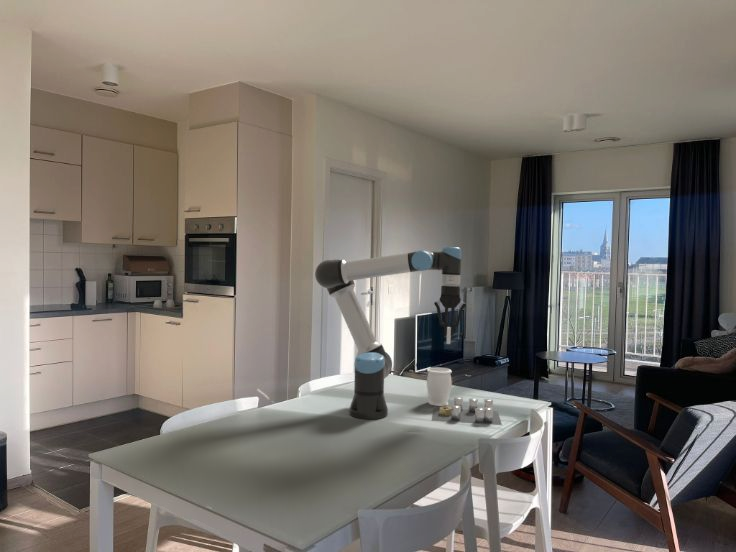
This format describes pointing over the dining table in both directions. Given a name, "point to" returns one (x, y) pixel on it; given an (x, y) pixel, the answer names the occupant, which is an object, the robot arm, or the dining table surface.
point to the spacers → (473, 410)
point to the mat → (463, 417)
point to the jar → (439, 385)
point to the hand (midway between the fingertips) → (448, 343)
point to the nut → (445, 411)
